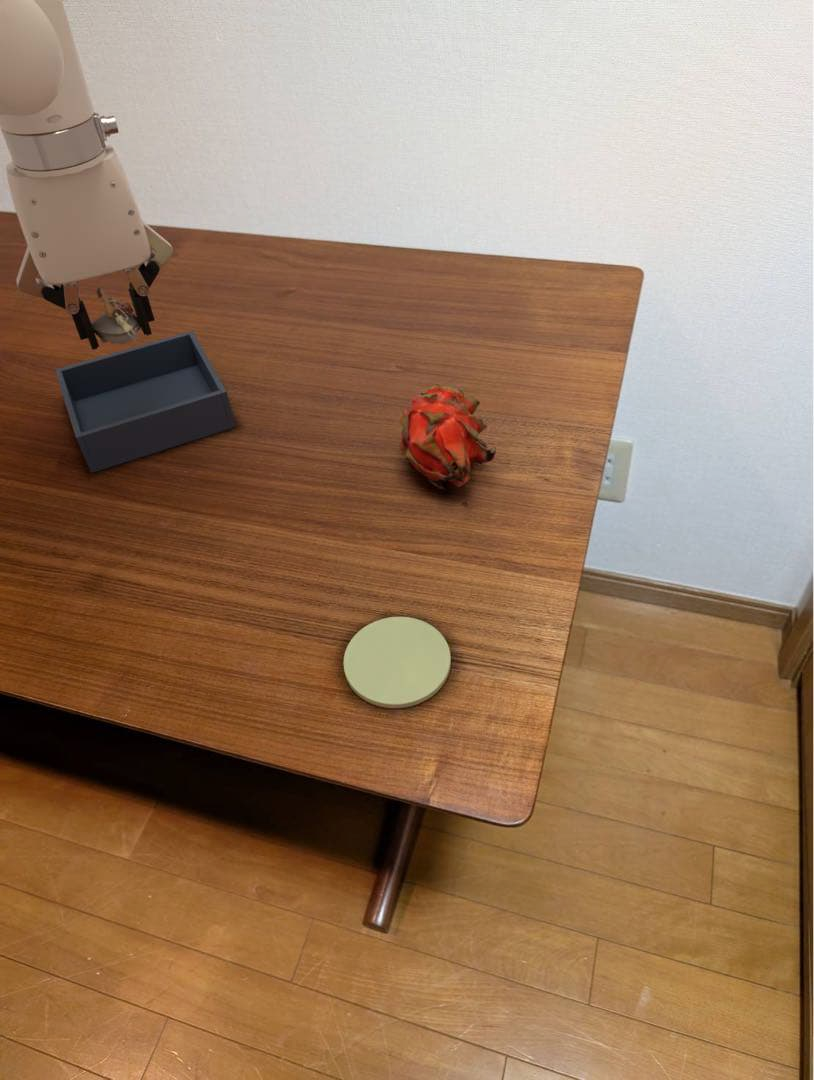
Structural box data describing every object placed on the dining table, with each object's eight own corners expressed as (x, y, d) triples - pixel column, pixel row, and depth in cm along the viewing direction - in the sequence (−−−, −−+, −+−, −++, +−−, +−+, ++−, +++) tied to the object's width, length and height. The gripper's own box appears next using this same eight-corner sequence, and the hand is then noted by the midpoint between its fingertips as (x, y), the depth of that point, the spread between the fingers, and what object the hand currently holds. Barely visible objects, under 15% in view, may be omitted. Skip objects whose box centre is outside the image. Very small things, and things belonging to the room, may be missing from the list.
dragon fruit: (438, 435, 87) (463, 524, 80) (370, 411, 83) (391, 504, 76) (488, 379, 82) (520, 470, 75) (419, 350, 77) (446, 444, 70)
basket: (91, 473, 84) (75, 437, 80) (69, 404, 92) (54, 369, 89) (235, 427, 88) (226, 391, 84) (202, 365, 96) (192, 330, 93)
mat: (369, 725, 62) (369, 721, 61) (328, 644, 67) (327, 640, 67) (469, 681, 64) (469, 677, 63) (421, 606, 69) (421, 602, 69)
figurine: (88, 342, 83) (68, 286, 78) (124, 323, 85) (107, 268, 81) (120, 359, 80) (101, 302, 76) (156, 339, 82) (140, 283, 78)
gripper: (146, 110, 74) (193, 297, 87) (-54, 149, 69) (27, 341, 82) (166, 136, 69) (212, 330, 82) (-48, 179, 64) (37, 378, 77)
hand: (119, 334), depth 82 cm, fingers closed on figurine, 4 cm apart
